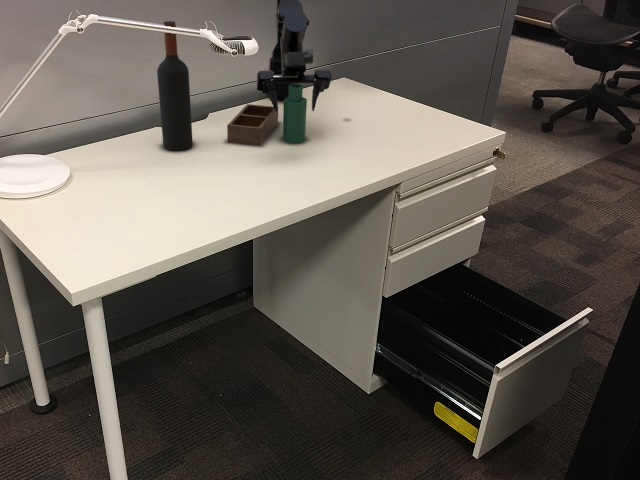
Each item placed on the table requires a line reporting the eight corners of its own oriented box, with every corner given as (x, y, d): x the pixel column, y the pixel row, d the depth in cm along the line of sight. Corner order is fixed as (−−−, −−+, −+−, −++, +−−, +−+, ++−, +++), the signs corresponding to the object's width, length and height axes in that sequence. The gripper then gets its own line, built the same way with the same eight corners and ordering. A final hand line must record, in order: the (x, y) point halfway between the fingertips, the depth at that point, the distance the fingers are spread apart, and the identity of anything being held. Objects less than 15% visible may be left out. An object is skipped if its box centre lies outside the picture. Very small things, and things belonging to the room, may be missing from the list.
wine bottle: (157, 148, 171) (146, 24, 153) (173, 138, 176) (164, 17, 159) (182, 153, 168) (174, 27, 150) (198, 143, 173) (191, 20, 156)
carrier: (247, 120, 187) (247, 103, 184) (277, 123, 184) (278, 106, 182) (227, 142, 173) (227, 125, 171) (260, 145, 171) (260, 128, 168)
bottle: (278, 139, 175) (279, 85, 167) (294, 133, 178) (296, 80, 170) (293, 145, 171) (295, 91, 163) (309, 140, 174) (312, 86, 166)
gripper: (257, 37, 164) (259, 96, 161) (333, 35, 164) (336, 94, 162) (255, 61, 175) (257, 117, 172) (326, 60, 175) (330, 115, 172)
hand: (295, 110), depth 169 cm, fingers open, 9 cm apart
